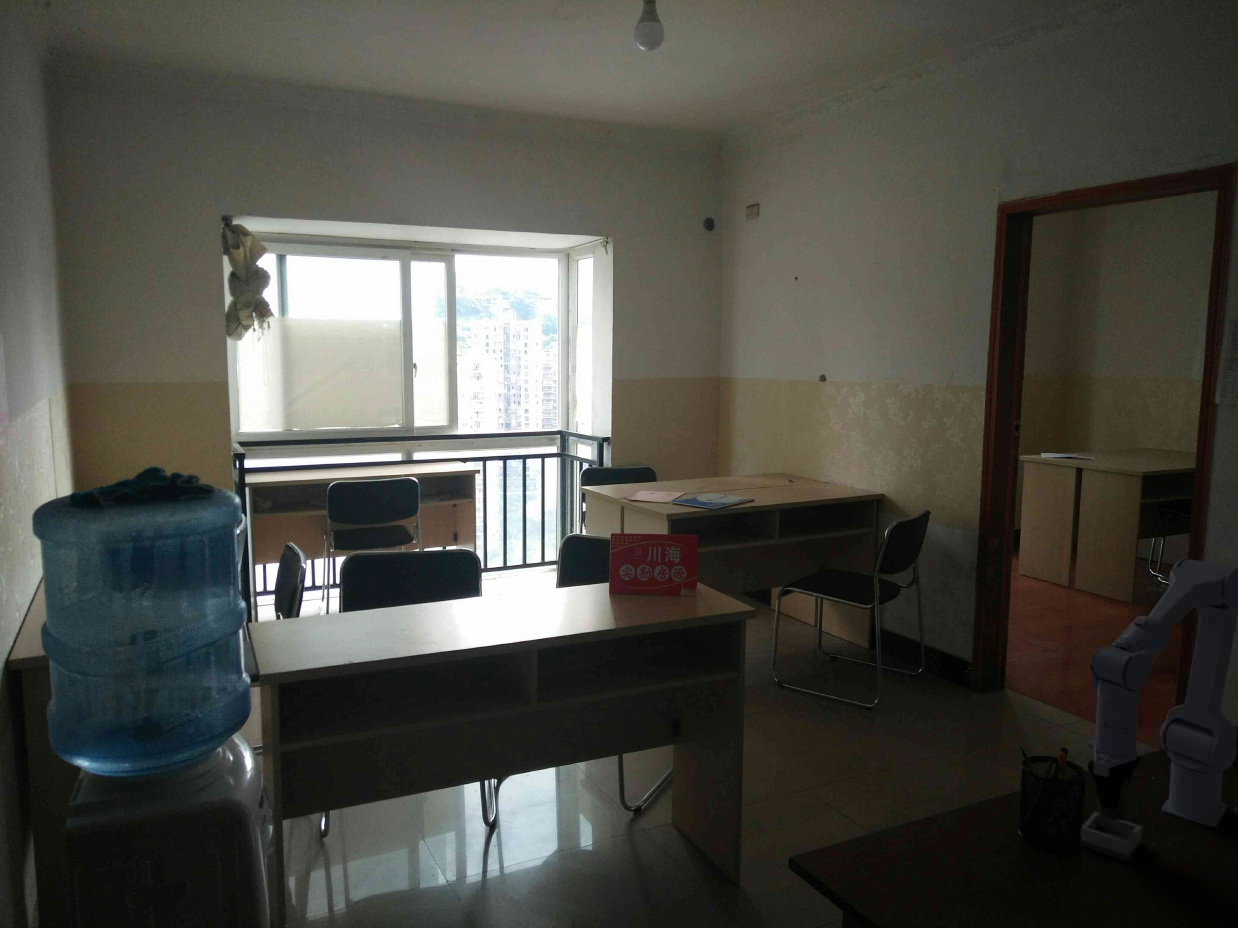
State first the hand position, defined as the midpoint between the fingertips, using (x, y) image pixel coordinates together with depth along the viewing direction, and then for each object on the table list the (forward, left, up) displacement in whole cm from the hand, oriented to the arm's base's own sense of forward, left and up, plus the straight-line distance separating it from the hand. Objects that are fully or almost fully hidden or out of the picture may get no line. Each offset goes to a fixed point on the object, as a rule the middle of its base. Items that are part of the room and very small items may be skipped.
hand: (1112, 802), depth 139 cm
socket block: (0, 0, -7) cm, 7 cm away
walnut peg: (0, 0, -2) cm, 2 cm away
